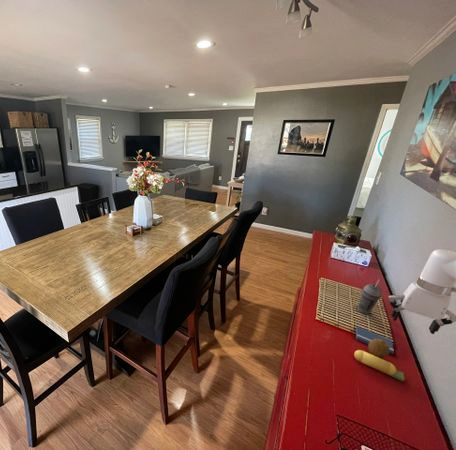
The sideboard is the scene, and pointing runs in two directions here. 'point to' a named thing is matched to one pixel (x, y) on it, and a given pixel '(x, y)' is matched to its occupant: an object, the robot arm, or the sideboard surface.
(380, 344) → the fruit
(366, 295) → the beverage cup
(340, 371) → the sideboard surface
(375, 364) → the corn cob
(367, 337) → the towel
